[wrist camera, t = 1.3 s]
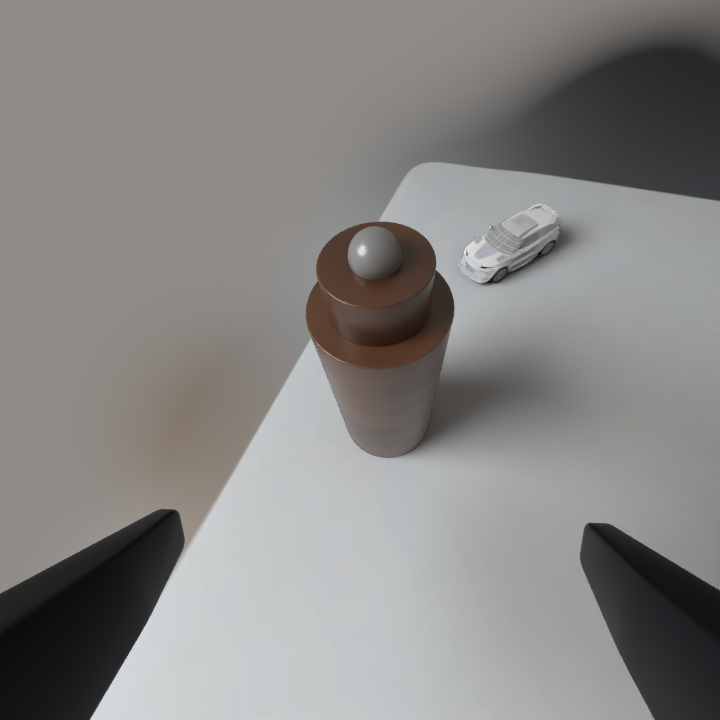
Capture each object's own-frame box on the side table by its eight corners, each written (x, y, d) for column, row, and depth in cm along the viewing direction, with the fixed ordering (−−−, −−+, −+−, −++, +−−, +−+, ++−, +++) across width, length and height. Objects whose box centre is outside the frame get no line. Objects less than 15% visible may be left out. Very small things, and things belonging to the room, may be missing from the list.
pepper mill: (413, 471, 19) (438, 332, 7) (332, 439, 21) (244, 278, 9) (439, 394, 22) (491, 191, 10) (364, 369, 23) (329, 166, 11)
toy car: (449, 264, 27) (455, 234, 25) (525, 224, 29) (538, 191, 26) (480, 293, 25) (489, 263, 23) (559, 248, 27) (576, 216, 24)
